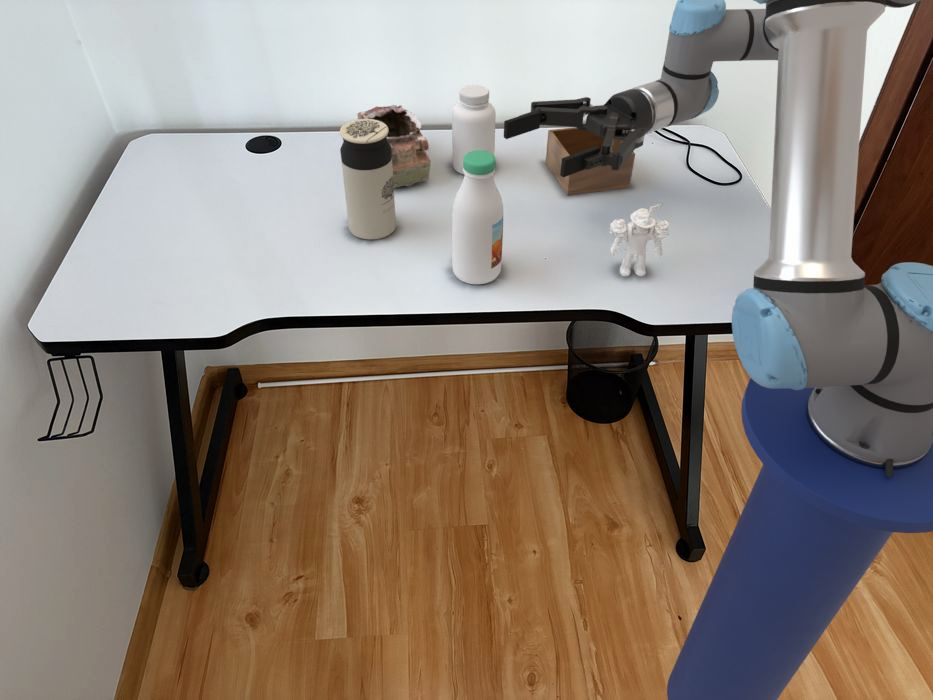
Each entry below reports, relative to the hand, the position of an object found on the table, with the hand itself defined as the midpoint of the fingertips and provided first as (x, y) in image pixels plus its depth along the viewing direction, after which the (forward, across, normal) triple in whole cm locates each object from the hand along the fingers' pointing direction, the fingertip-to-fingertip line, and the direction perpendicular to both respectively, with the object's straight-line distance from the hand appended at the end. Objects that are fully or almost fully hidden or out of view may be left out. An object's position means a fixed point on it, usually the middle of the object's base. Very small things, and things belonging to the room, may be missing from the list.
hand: (532, 148), depth 112 cm
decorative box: (+5, +36, -19) cm, 41 cm away
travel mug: (+17, +20, -19) cm, 32 cm away
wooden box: (-25, +13, -19) cm, 34 cm away
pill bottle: (-9, +27, -19) cm, 34 cm away
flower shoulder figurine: (-11, -14, -19) cm, 26 cm away
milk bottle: (+10, 0, -19) cm, 21 cm away
